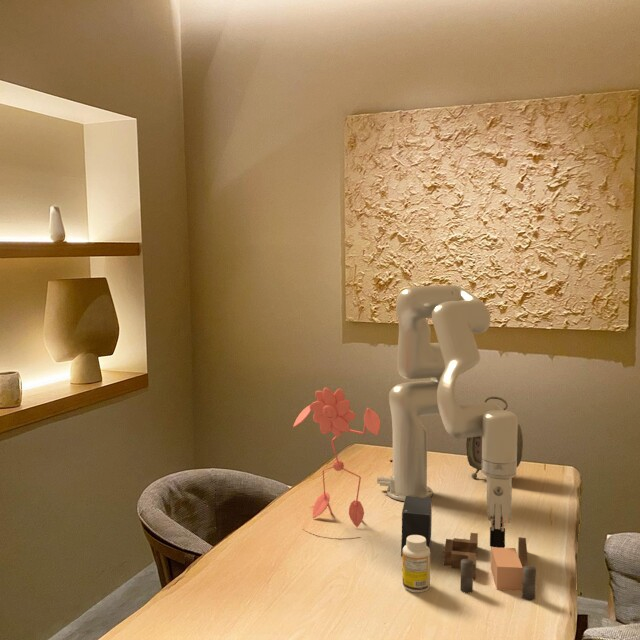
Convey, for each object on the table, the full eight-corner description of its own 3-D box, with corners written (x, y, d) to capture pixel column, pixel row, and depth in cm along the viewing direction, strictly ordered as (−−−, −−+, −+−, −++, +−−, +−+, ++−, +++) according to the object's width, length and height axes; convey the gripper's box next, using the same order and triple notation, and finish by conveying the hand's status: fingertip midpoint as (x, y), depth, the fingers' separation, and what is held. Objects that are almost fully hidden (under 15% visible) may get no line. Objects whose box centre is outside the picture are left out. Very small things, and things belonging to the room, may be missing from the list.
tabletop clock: (465, 479, 204) (466, 396, 201) (477, 471, 211) (478, 391, 208) (513, 488, 195) (515, 402, 193) (524, 479, 203) (526, 396, 200)
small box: (430, 559, 152) (430, 514, 151) (400, 557, 153) (400, 512, 152) (432, 539, 162) (432, 497, 161) (404, 537, 163) (404, 495, 162)
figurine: (306, 505, 184) (303, 377, 180) (392, 526, 170) (391, 388, 166) (271, 525, 172) (267, 389, 167) (361, 550, 157) (359, 401, 153)
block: (496, 590, 138) (497, 566, 138) (490, 569, 147) (491, 547, 147) (522, 591, 138) (522, 567, 137) (514, 570, 147) (515, 548, 146)
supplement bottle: (411, 577, 144) (412, 530, 143) (435, 585, 140) (435, 537, 139) (397, 587, 139) (397, 539, 138) (420, 596, 136) (420, 547, 135)
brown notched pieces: (439, 589, 138) (439, 561, 138) (447, 543, 160) (447, 518, 159) (535, 601, 134) (536, 571, 133) (530, 552, 155) (531, 526, 154)
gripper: (517, 479, 144) (515, 562, 146) (516, 457, 158) (514, 534, 160) (480, 476, 146) (478, 558, 148) (482, 455, 160) (481, 530, 162)
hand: (497, 545), depth 154 cm, fingers closed
